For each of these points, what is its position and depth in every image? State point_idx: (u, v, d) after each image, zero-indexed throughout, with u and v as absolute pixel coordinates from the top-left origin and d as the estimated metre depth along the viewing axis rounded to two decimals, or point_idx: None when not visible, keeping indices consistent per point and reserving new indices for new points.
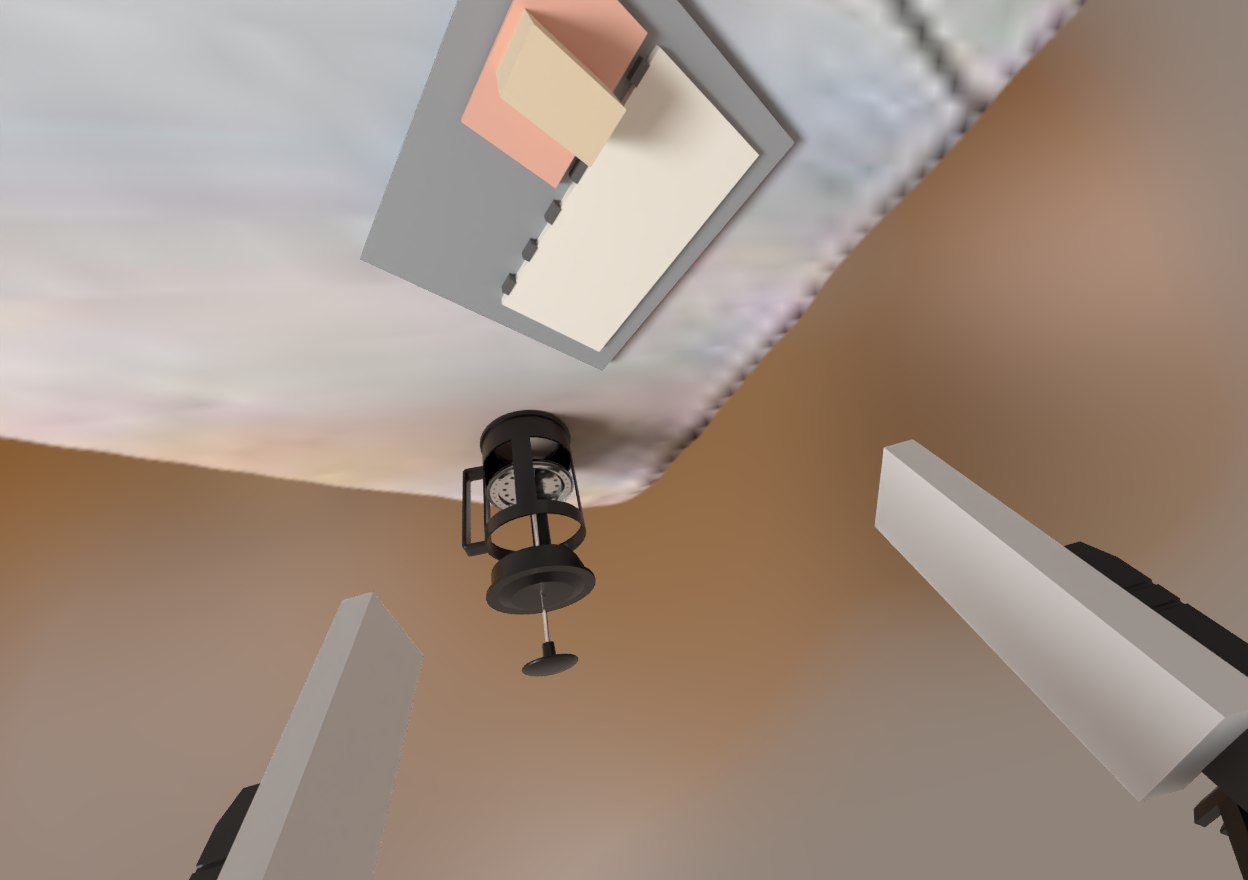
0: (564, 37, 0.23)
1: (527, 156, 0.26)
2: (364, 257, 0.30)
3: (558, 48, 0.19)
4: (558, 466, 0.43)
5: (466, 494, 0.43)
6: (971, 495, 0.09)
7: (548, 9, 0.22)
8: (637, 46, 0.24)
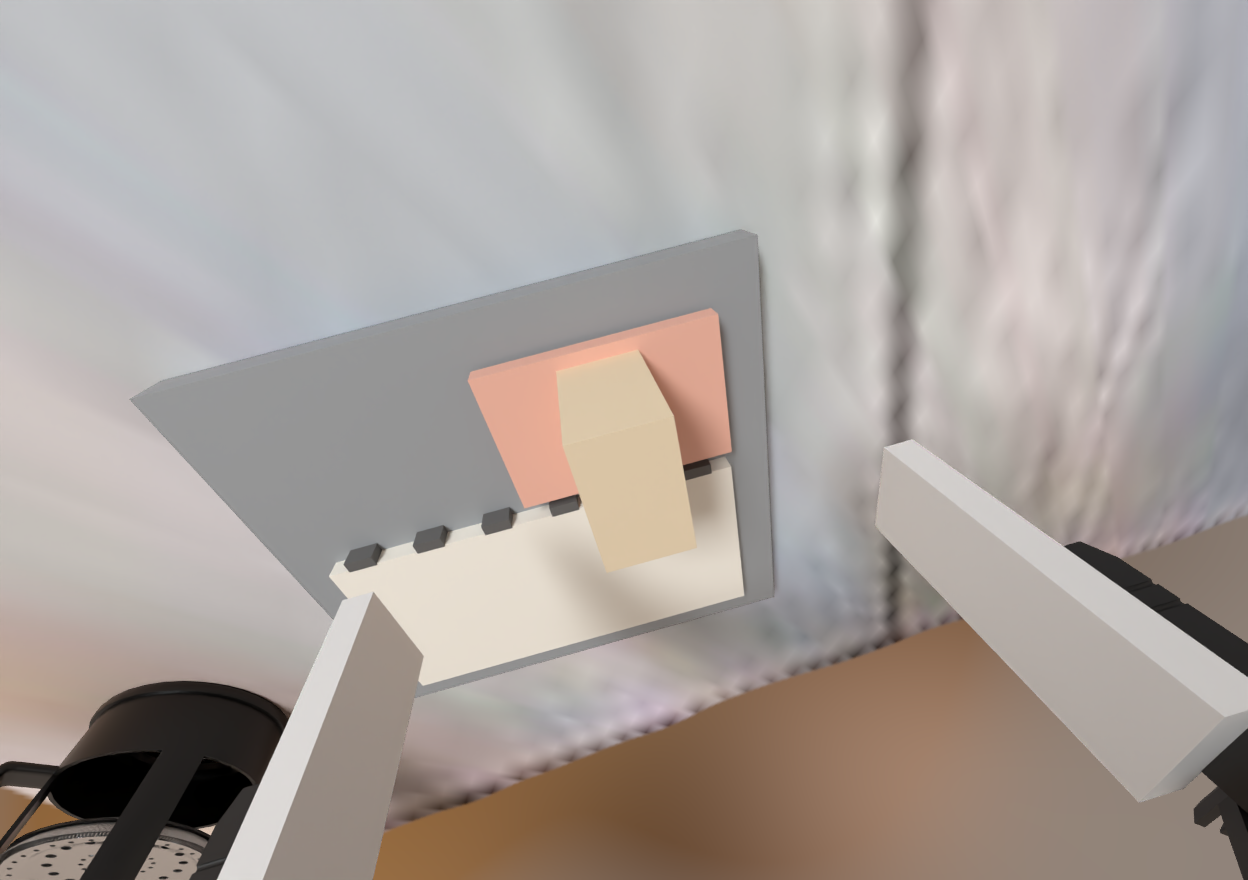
0: None
1: (519, 461, 0.18)
2: (141, 401, 0.15)
3: (678, 453, 0.12)
4: None
5: None
6: (971, 495, 0.09)
7: (660, 368, 0.16)
8: (715, 455, 0.19)
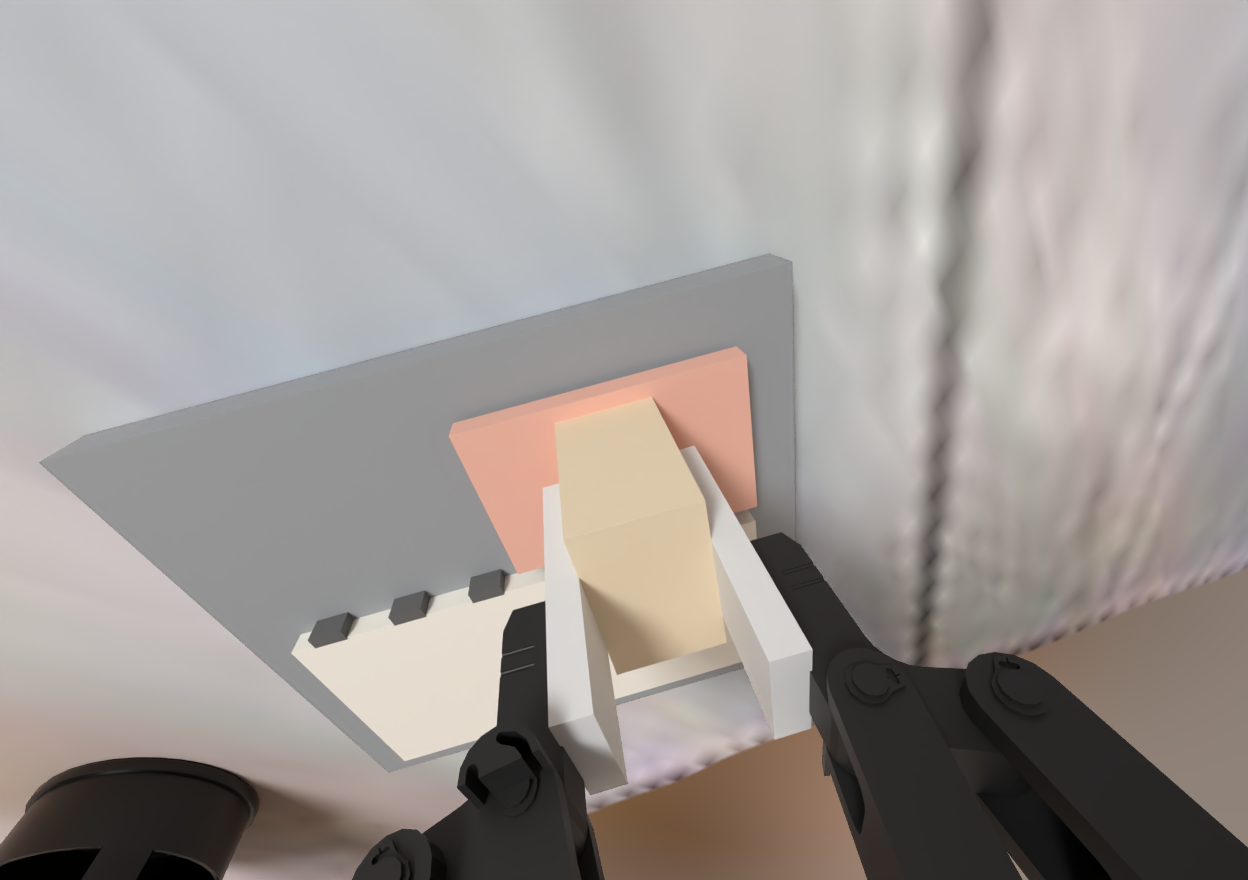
0: None
1: (511, 524, 0.15)
2: (53, 465, 0.13)
3: (709, 541, 0.10)
4: None
5: None
6: (708, 493, 0.11)
7: (677, 417, 0.14)
8: (738, 510, 0.16)
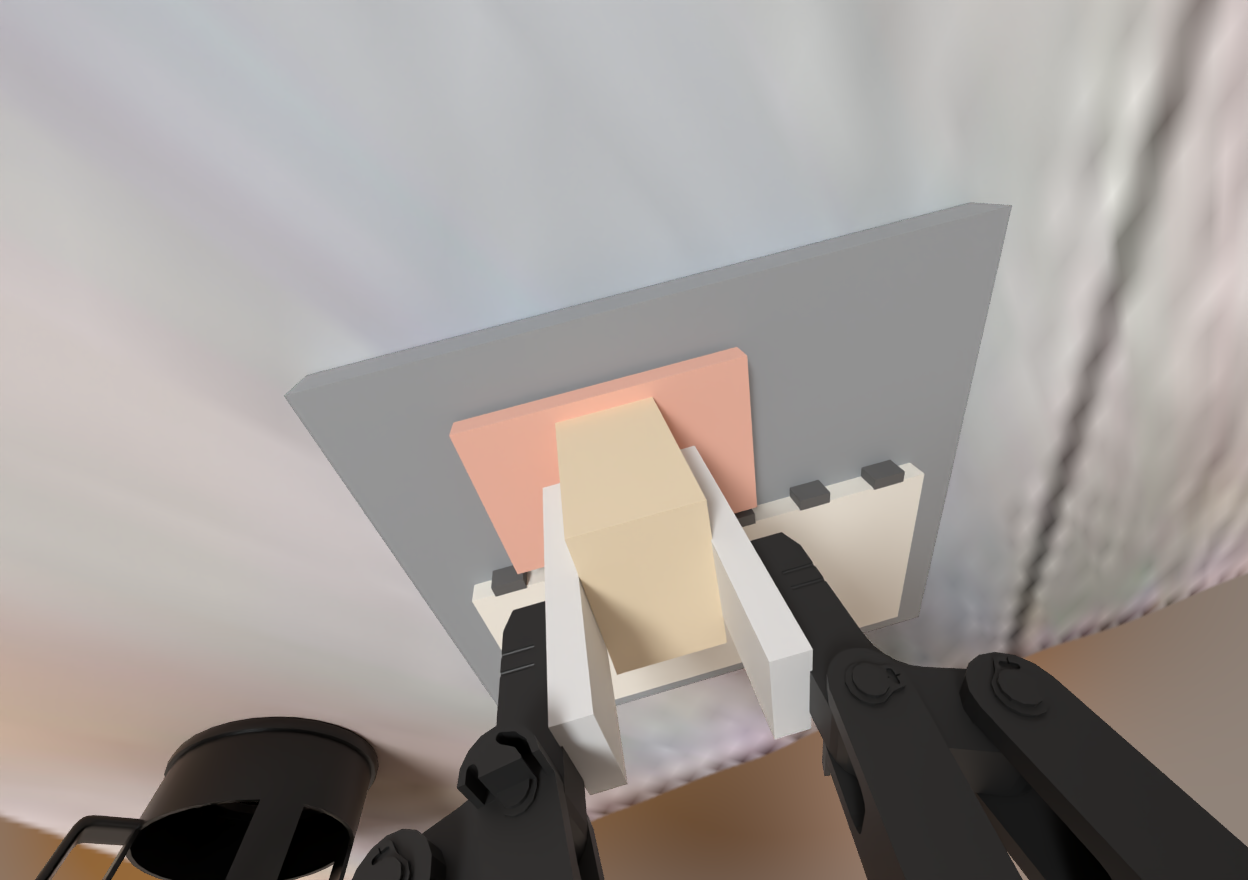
0: None
1: (511, 524, 0.15)
2: (296, 398, 0.13)
3: (709, 541, 0.10)
4: None
5: None
6: (708, 493, 0.11)
7: (678, 417, 0.14)
8: (738, 510, 0.16)
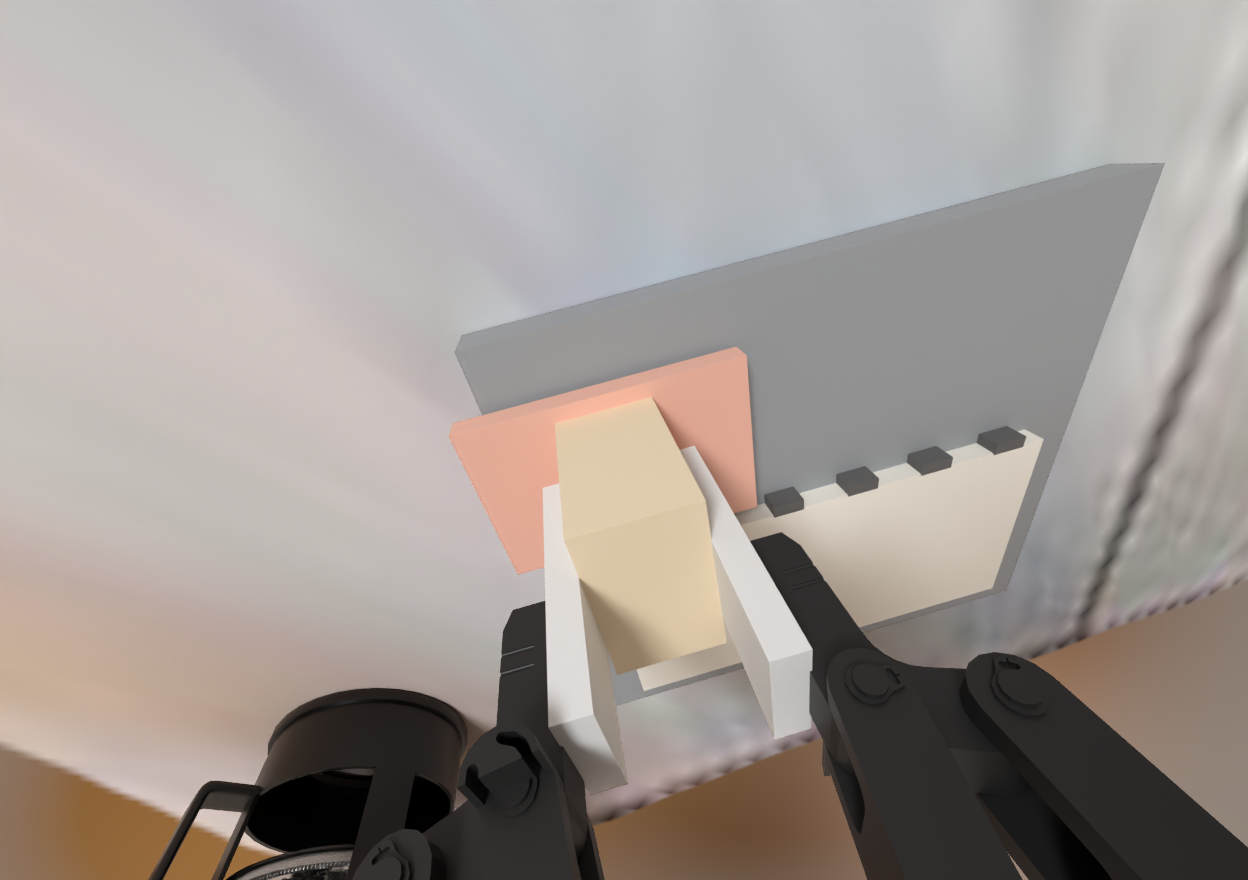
0: None
1: (511, 524, 0.15)
2: (465, 355, 0.13)
3: (709, 541, 0.10)
4: None
5: (163, 877, 0.16)
6: (708, 494, 0.11)
7: (677, 417, 0.14)
8: (738, 510, 0.16)
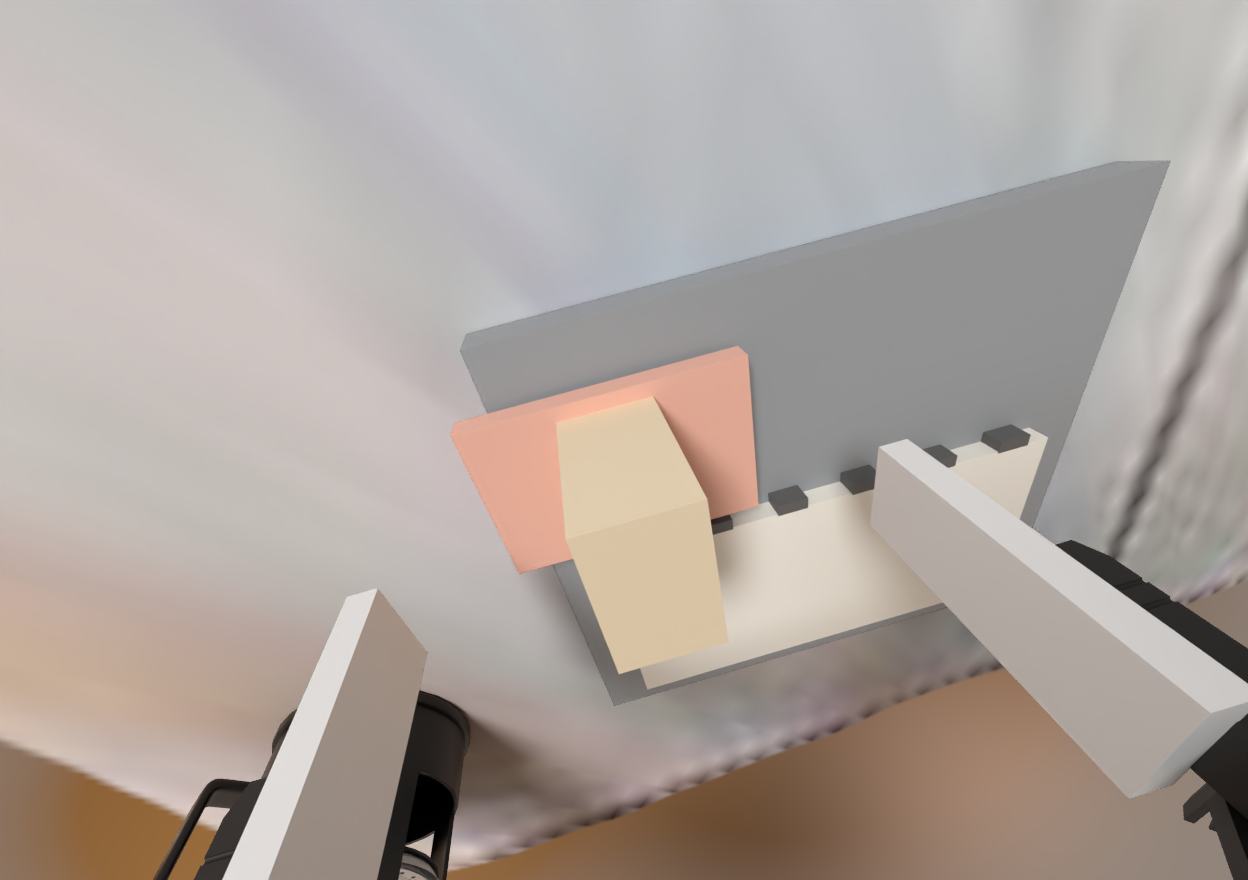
0: None
1: (513, 523, 0.15)
2: (470, 353, 0.13)
3: (711, 540, 0.10)
4: (431, 869, 0.20)
5: (169, 874, 0.16)
6: (964, 494, 0.09)
7: (679, 417, 0.14)
8: (739, 509, 0.16)
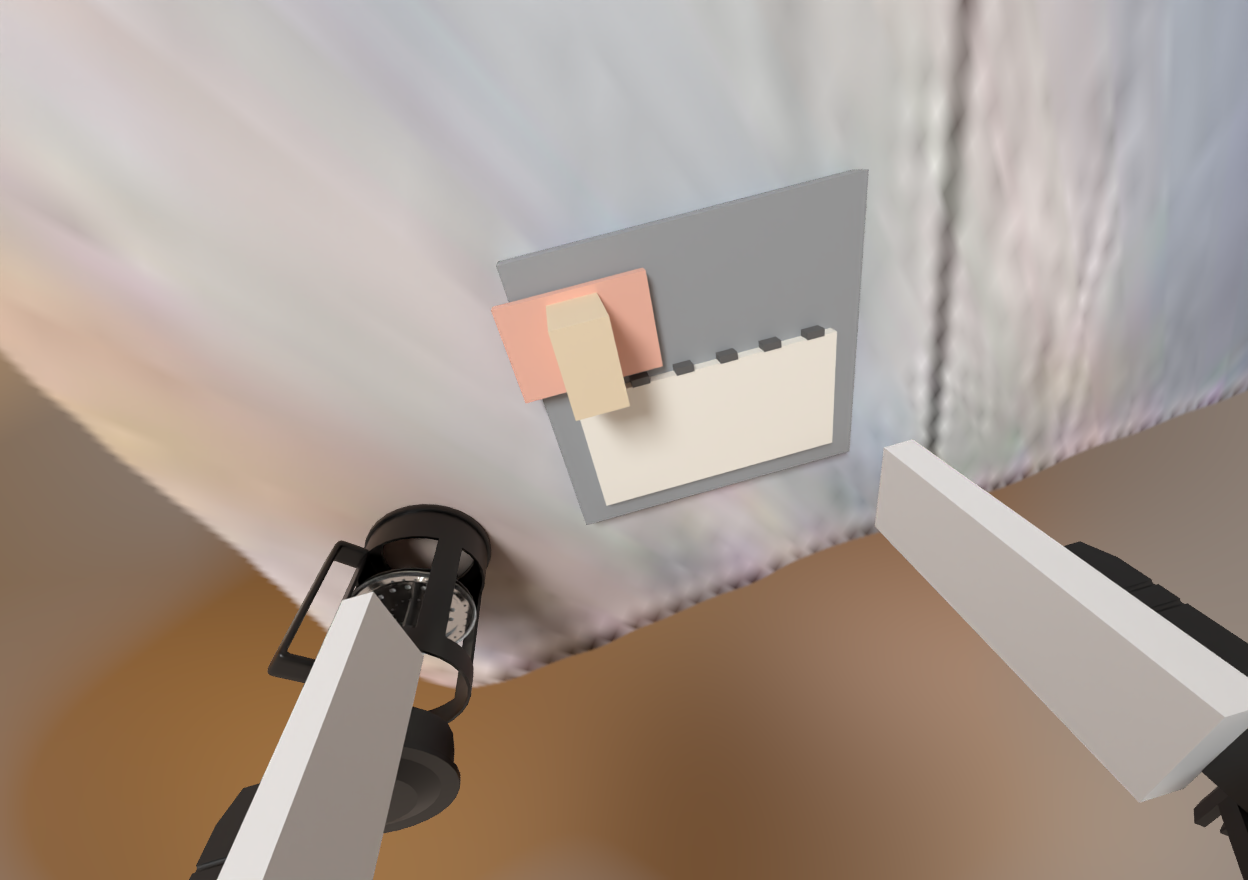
0: None
1: (522, 368, 0.27)
2: (501, 268, 0.25)
3: (613, 339, 0.22)
4: (470, 603, 0.32)
5: (325, 575, 0.28)
6: (971, 495, 0.09)
7: (611, 305, 0.26)
8: (651, 368, 0.29)
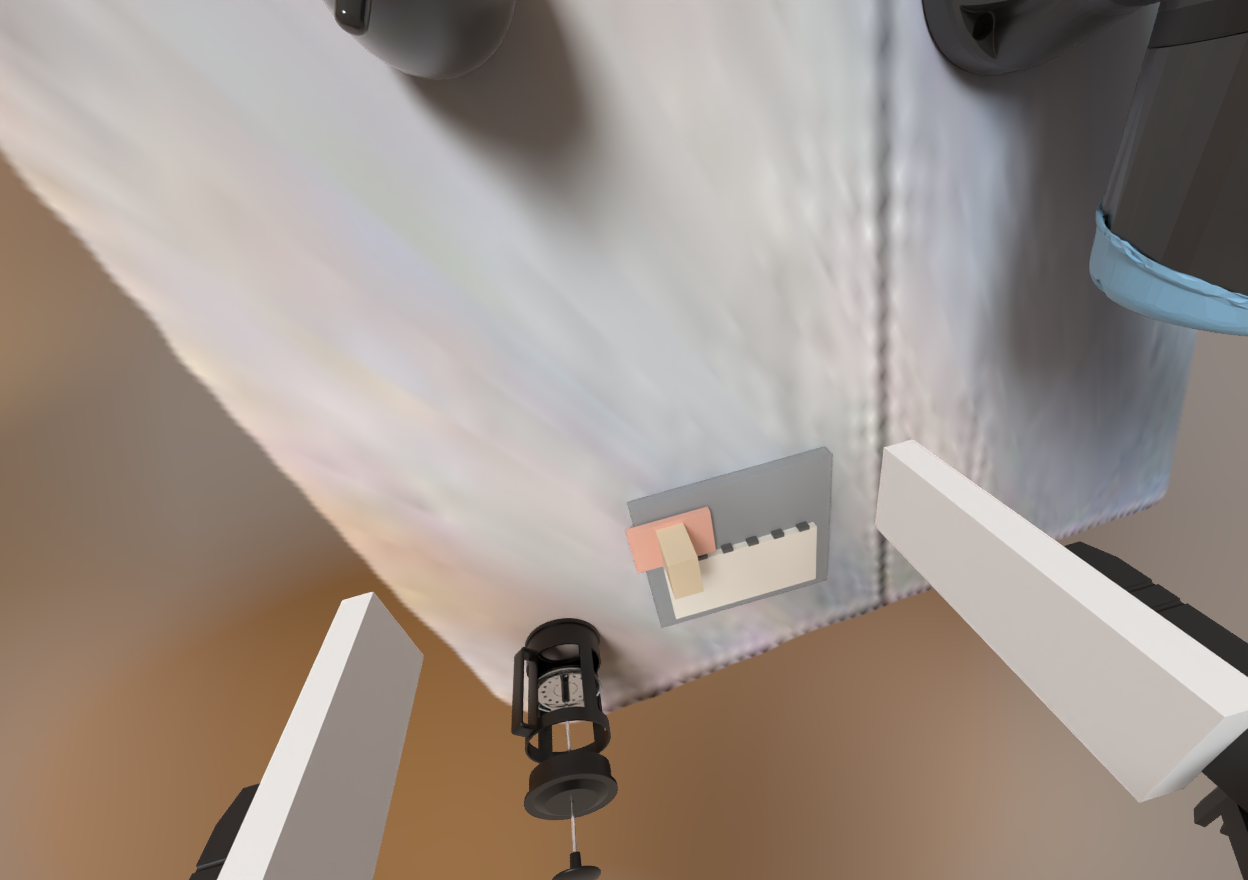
0: None
1: (638, 558, 0.49)
2: (632, 511, 0.47)
3: (698, 565, 0.43)
4: (597, 682, 0.53)
5: None
6: (971, 495, 0.09)
7: (690, 527, 0.47)
8: (709, 552, 0.50)
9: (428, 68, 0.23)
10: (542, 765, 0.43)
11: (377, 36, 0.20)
